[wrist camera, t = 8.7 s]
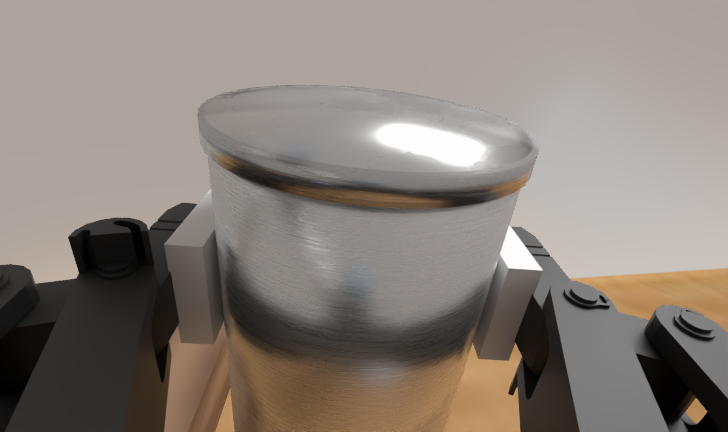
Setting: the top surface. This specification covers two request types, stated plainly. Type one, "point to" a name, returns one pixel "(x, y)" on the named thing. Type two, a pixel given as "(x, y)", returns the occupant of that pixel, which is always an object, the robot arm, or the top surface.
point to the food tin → (355, 250)
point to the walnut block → (196, 384)
